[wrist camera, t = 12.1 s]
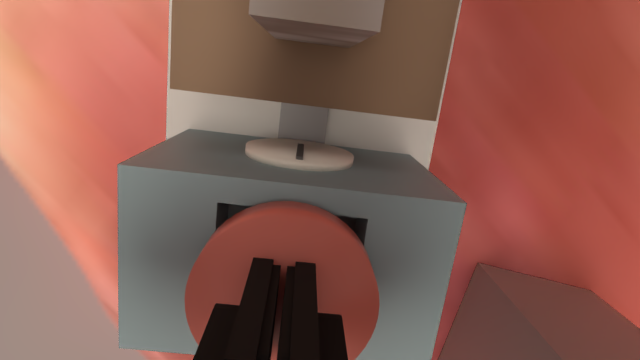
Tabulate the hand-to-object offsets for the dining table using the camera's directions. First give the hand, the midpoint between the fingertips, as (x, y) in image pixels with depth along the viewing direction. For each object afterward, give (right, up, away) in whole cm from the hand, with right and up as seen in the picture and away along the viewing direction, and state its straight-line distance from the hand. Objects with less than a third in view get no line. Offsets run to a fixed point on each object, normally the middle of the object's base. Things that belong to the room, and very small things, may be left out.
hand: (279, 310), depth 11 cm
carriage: (+1, +10, +5) cm, 11 cm away
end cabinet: (0, +3, +8) cm, 9 cm away
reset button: (0, +1, +3) cm, 3 cm away
